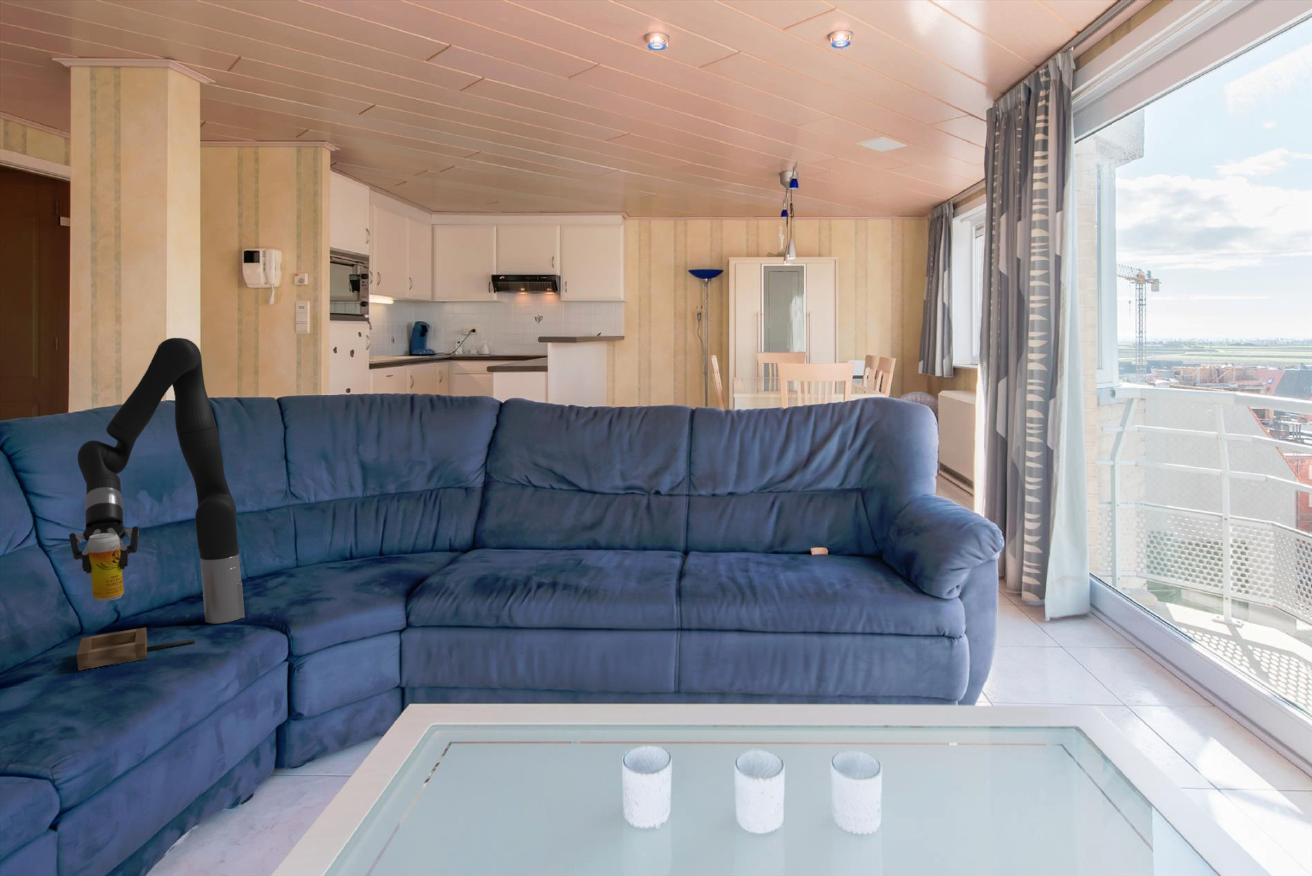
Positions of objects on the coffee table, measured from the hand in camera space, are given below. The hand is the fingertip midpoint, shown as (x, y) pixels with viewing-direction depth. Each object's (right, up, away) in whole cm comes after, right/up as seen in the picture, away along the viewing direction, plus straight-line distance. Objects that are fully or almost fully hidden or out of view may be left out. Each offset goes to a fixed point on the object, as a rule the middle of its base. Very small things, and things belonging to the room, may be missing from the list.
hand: (105, 569), depth 189 cm
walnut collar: (+4, -21, +6) cm, 22 cm away
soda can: (-1, -7, +2) cm, 8 cm away
